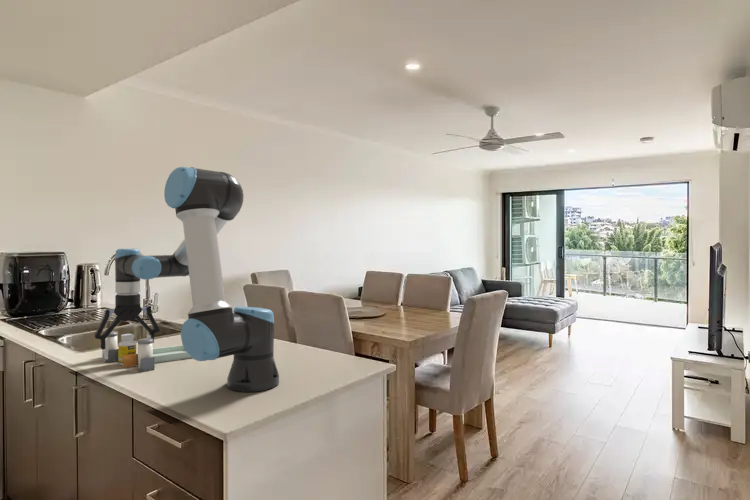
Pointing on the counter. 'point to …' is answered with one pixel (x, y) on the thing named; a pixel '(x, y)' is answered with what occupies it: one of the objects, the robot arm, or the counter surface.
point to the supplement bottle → (126, 347)
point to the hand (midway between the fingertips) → (128, 355)
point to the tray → (170, 353)
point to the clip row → (131, 360)
